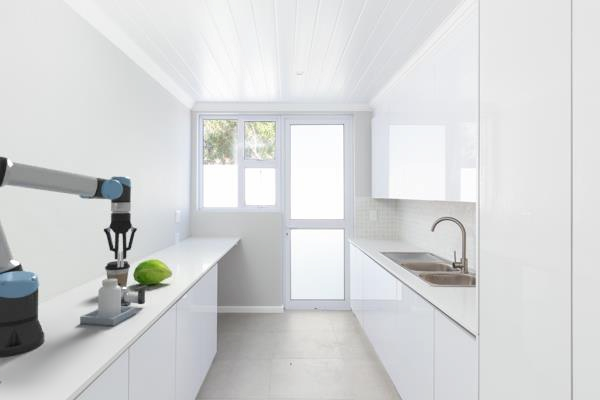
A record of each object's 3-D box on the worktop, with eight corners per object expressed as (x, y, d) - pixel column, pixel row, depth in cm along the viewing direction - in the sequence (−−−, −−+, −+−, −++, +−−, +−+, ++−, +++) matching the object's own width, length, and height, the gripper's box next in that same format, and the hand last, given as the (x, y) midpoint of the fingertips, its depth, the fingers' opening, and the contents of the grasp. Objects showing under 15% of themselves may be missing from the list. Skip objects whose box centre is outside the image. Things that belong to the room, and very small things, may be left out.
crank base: (123, 307, 151) (123, 304, 151) (109, 306, 152) (109, 303, 152) (146, 296, 167) (146, 294, 167) (133, 295, 168) (133, 293, 168)
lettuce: (170, 286, 185) (170, 261, 185) (129, 288, 181) (129, 262, 180) (173, 279, 200) (173, 256, 200) (135, 281, 195) (136, 257, 195)
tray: (113, 326, 129) (113, 319, 129) (80, 323, 131) (80, 316, 131) (136, 313, 143) (136, 307, 143) (106, 311, 145) (106, 305, 145)
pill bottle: (111, 321, 132) (111, 282, 132) (93, 319, 134) (93, 281, 134) (125, 314, 140) (125, 278, 140) (108, 313, 142) (108, 277, 141)
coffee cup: (101, 296, 167) (101, 265, 167) (108, 289, 178) (108, 261, 178) (127, 294, 170) (127, 264, 170) (132, 288, 181) (132, 260, 181)
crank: (112, 302, 153) (112, 285, 153) (123, 298, 158) (123, 282, 158) (138, 306, 148) (138, 288, 148) (148, 302, 154) (149, 285, 154)
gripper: (101, 212, 142) (101, 269, 143) (137, 212, 147) (137, 267, 147) (104, 212, 149) (104, 265, 150) (139, 211, 154) (138, 264, 154)
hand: (120, 266), depth 149 cm, fingers closed
